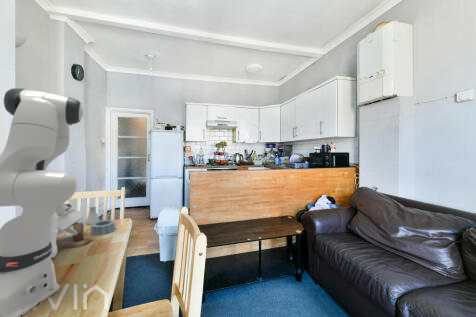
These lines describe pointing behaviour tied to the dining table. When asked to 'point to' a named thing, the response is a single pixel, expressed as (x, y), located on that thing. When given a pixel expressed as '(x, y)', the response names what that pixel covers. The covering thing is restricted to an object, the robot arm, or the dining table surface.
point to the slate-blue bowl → (102, 227)
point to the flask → (92, 216)
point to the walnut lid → (78, 237)
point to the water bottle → (54, 234)
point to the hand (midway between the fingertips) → (79, 231)
